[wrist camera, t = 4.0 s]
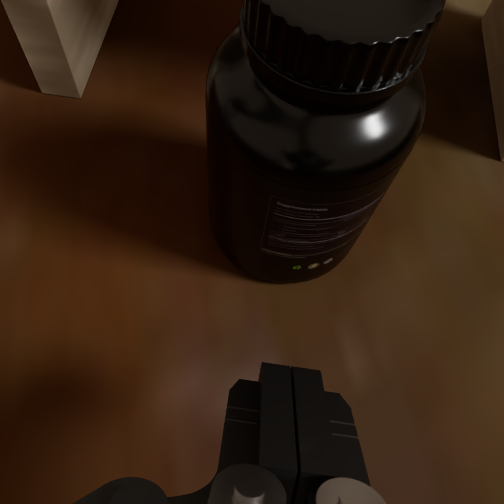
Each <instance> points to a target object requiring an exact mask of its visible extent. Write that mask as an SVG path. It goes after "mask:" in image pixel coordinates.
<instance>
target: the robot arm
mask: <svg viewBox="0 0 504 504" xmlns="http://www.w3.org/2000/svg"><path fill="white" fill-rule="evenodd" d="M357 437H358V435H357V431H356V427H355V426H354V419H353V416H352V412H351V408H350V406H349V405H348V404H347V403H346V401H345V400H344V399H343V398H342V396H341V395H340V394H339V393H333V392H326V391H324V387H323V382H322V376H321V372H320V370H313V369H306V368H300V367H293V366H292V367H291V369H290V366H285V365H278V364H271V363H264V362H262V364H261V369H260V374H259V380H258V382H257V381H250V380H243V379H239V380H238V381H237V382H236V383H235V385H234V386H233V387H232V388H231V389H230V390H229V396H228V403H227V410H226V417H225V423H224V430H223V437H222V444H221V451H220V458H219V465H218V470H217V473H216V475H215V477H214V478H213V479H212V481H211V482H210V483H209V484H208V485H206V486H205V487H204V488H202V489H200V490H198V491H196V492H194V493H191V494H187V495H182V496H175V497H168V498H167V496H166V495H165V493H164V491H163V490H162V489H161V488H160V487H159V486H158V485H156V484H155V483H153V482H151V481H149V480H146V479H143V478H138V477H126V478H120V479H116V480H113V481H111V482H109V483H107V484H105V485H103V486H101V487H100V488H98V489H97V490H95V491H93V492H92V493H90V494H88V495H87V496H85V497H83V498H82V499H80V500H78V501H77V502H75V503H74V504H386V502H385V501H384V499H383V498H382V497H381V496H380V495H379V494H378V493H377V492H376V491H375V490H374V489H372V488H371V486H370V482H369V478H368V474H367V470H366V467H365V463H364V459H363V455H362V451H361V447H360V443H359V439H357Z"/></svg>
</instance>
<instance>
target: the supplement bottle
mask: <svg viewBox="0 0 504 504" xmlns="http://www.w3.org/2000/svg"><path fill="white" fill-rule="evenodd" d="M445 1H446V0H243V3H242V6H241V10H240V23H239V24H238V25H236V26H235V27H234V28H233V29H232V30H231V31H230V32H229V33H228V34H227V36H226V37H225V38H224V39H223V41H222V42H221V44H220V45H219V47H218V48H217V50H216V52H215V54H214V56H213V58H212V60H211V63H210V66H209V69H208V73H207V80H206V134H207V168H208V202H209V218H210V224H211V228H212V232H213V235H214V237H215V240H216V242H217V244H218V245H219V247H220V249H221V250H222V251H223V253H224V254H225V255H226V256H227V258H228V259H229V260H230V261H231V262H232V263H234V264H235V265H236V266H237V267H239V268H240V269H241V270H243V271H244V272H246V273H248V274H250V275H252V276H254V277H257V278H259V279H262V280H265V281H270V282H275V283H287V284H288V283H300V282H305V281H309V280H312V279H315V278H318V277H320V276H322V275H324V274H326V273H327V272H329V271H331V270H332V269H333V268H335V267H336V266H337V265H338V264H339V263H340V262H341V261H342V260H343V259H344V258H345V256H346V255H347V254H348V252H349V251H350V249H351V248H352V246H353V245H354V243H355V242H356V240H357V239H358V237H359V235H360V234H361V232H362V230H363V229H364V227H365V226H366V224H367V222H368V221H369V219H370V217H371V216H372V214H373V213H374V211H375V209H376V208H377V206H378V204H379V203H380V201H381V199H382V198H383V196H384V195H385V193H386V191H387V190H388V188H389V186H390V185H391V183H392V182H393V180H394V178H395V177H396V175H397V173H398V172H399V170H400V168H401V167H402V165H403V164H404V162H405V160H406V159H407V157H408V155H409V154H410V152H411V150H412V148H413V146H414V145H415V143H416V141H417V139H418V137H419V135H420V133H421V130H422V127H423V124H424V120H425V115H426V105H427V100H426V89H425V83H424V79H423V75H422V72H421V69H420V65H421V64H422V62H423V60H424V57H425V55H426V52H427V49H428V43H429V40H430V38H431V36H432V34H433V32H434V30H435V28H436V26H437V24H438V21H439V19H440V17H441V14H442V9H443V7H444V4H445Z"/></svg>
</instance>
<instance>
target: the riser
mask: <svg viewBox="0 0 504 504" xmlns="http://www.w3.org/2000/svg"><path fill="white" fill-rule="evenodd" d="M118 1H119V0H1V2H2V4H3V6H4V8H5V11H6V13H7V15H8V17H9V20H10V22H11V24H12V26H13V29H14V31H15V33H16V35H17V38H18V40H19V42H20V44H21V47H22V49H23V51H24V53H25V56H26V58H27V60H28V62H29V65H30V67H31V69H32V71H33V74H34V76H35V78H36V80H37V83H38V85H39V87H40V89H41V92H42V93H47V94H53V95H60V96H67V97H74V98H80V99H81V96H82V94H83V91H84V89H85V86H86V84H87V81H88V78H89V76H90V73H91V71H92V68H93V66H94V63H95V60H96V58H97V55H98V53H99V50H100V48H101V45H102V43H103V40H104V37H105V35H106V32H107V30H108V27H109V25H110V22H111V19H112V17H113V14H114V12H115V9H116V7H117V4H118ZM481 25H482V32H483V39H484V46H485V53H486V60H487V67H488V74H489V81H490V88H491V95H492V102H493V109H494V116H495V123H496V130H497V137H498V144H499V151H500V158H501V161H503V162H504V0H493V1H492V2H491V4H490V6H489V7H488V9H487V11H486V13H485V14H484V16H483V18H482V19H481Z"/></svg>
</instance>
